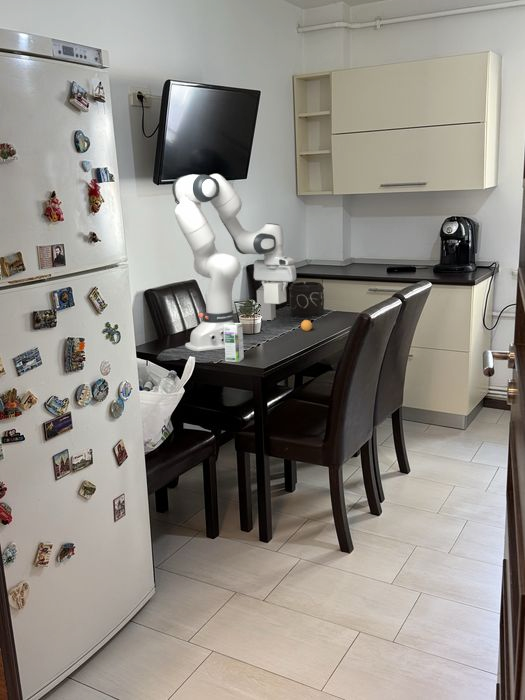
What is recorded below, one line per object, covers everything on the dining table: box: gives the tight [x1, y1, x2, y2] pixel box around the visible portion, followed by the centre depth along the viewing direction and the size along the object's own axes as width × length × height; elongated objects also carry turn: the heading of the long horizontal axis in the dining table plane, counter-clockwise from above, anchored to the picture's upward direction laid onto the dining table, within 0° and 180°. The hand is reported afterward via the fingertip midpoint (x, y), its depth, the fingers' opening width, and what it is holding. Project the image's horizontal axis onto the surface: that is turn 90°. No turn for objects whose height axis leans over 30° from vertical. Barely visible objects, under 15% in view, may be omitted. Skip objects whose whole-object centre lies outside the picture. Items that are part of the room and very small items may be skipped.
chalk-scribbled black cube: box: [288, 281, 325, 318], centre depth 343 cm, size 18×18×16 cm
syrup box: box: [224, 322, 245, 363], centre depth 262 cm, size 6×6×14 cm
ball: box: [300, 319, 313, 332], centre depth 308 cm, size 5×5×5 cm
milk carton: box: [256, 281, 277, 321], centre depth 335 cm, size 7×7×19 cm
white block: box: [264, 281, 287, 305], centre depth 306 cm, size 7×7×9 cm
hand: (275, 290), depth 305 cm, fingers closed on white block, 7 cm apart
